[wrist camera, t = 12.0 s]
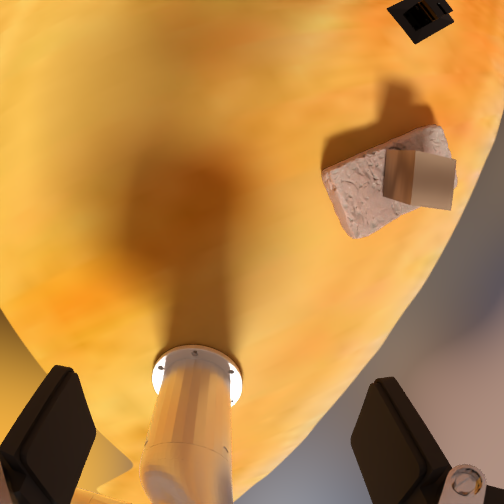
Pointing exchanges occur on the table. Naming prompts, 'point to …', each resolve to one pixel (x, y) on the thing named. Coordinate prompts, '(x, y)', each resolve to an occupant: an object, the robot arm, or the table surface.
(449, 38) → the table surface
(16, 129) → the table surface
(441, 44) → the table surface
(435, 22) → the black piece
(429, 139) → the brick
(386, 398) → the robot arm
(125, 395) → the table surface
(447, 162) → the brown wooden block
